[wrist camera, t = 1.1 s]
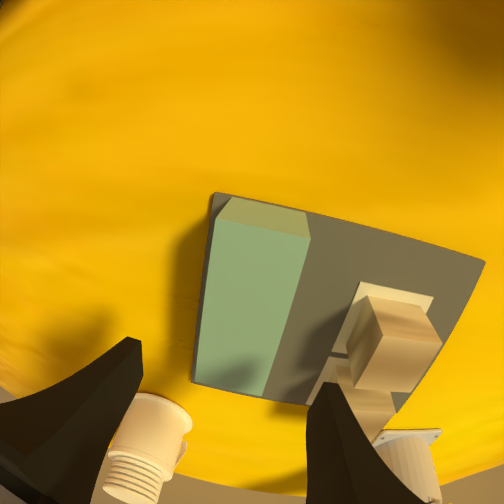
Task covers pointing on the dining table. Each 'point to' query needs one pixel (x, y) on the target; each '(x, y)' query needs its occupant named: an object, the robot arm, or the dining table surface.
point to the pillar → (391, 345)
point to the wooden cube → (365, 403)
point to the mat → (351, 297)
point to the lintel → (249, 292)
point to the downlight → (146, 449)
